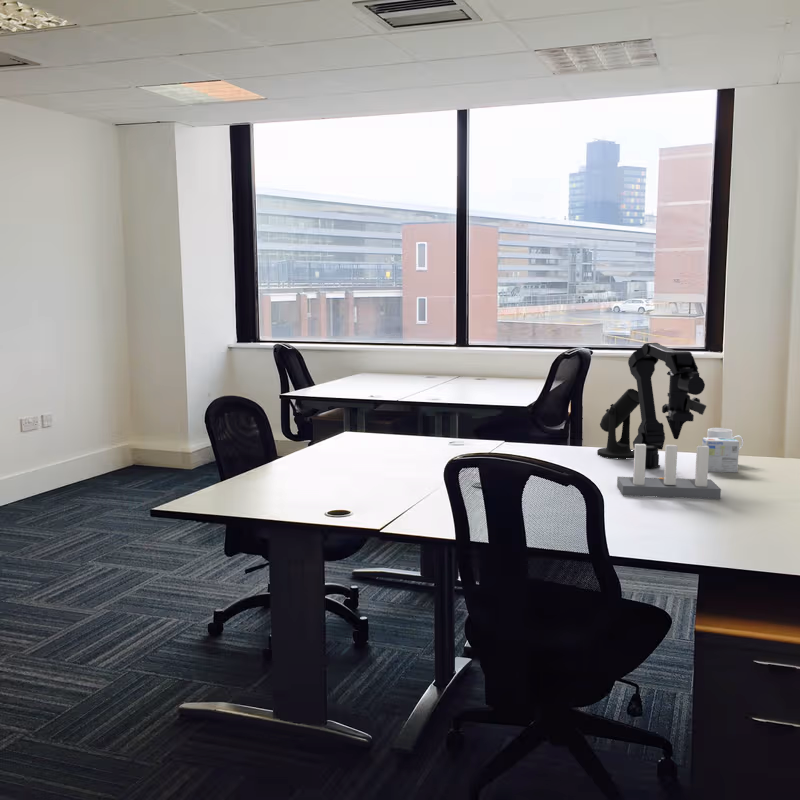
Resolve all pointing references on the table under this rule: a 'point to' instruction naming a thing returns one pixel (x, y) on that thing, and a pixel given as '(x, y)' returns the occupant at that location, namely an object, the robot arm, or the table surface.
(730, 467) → the light bulb box
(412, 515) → the table surface
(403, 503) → the table surface
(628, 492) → the three-peg stand
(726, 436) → the mug
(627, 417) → the microphone
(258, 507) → the table surface
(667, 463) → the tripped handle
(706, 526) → the table surface
